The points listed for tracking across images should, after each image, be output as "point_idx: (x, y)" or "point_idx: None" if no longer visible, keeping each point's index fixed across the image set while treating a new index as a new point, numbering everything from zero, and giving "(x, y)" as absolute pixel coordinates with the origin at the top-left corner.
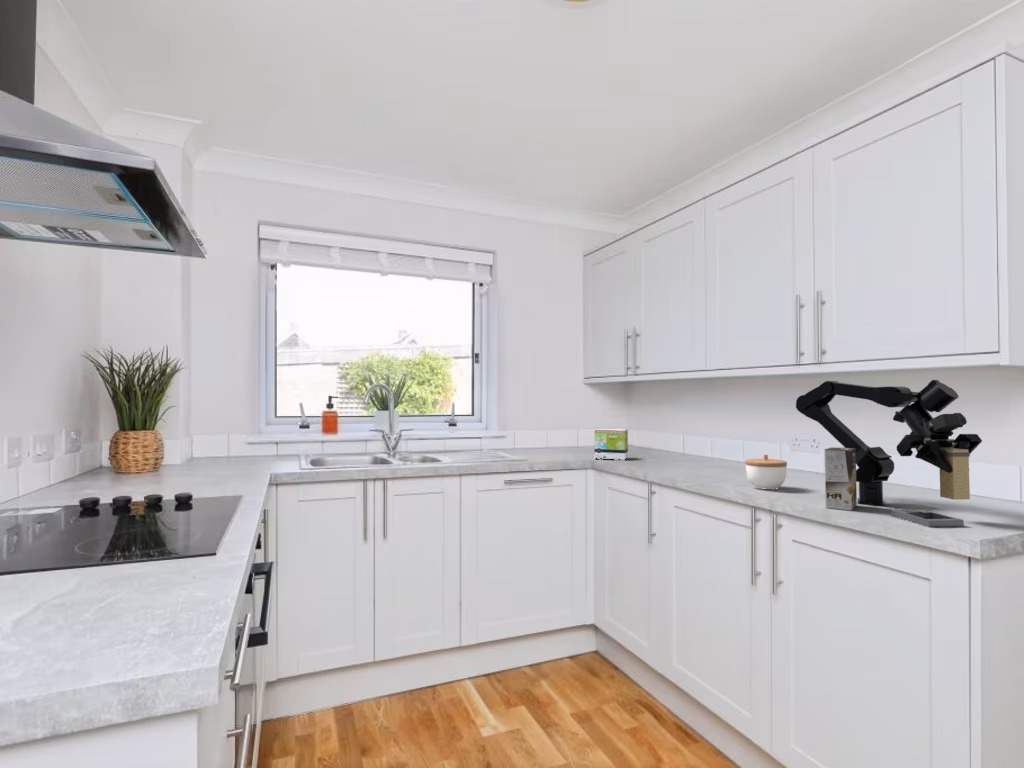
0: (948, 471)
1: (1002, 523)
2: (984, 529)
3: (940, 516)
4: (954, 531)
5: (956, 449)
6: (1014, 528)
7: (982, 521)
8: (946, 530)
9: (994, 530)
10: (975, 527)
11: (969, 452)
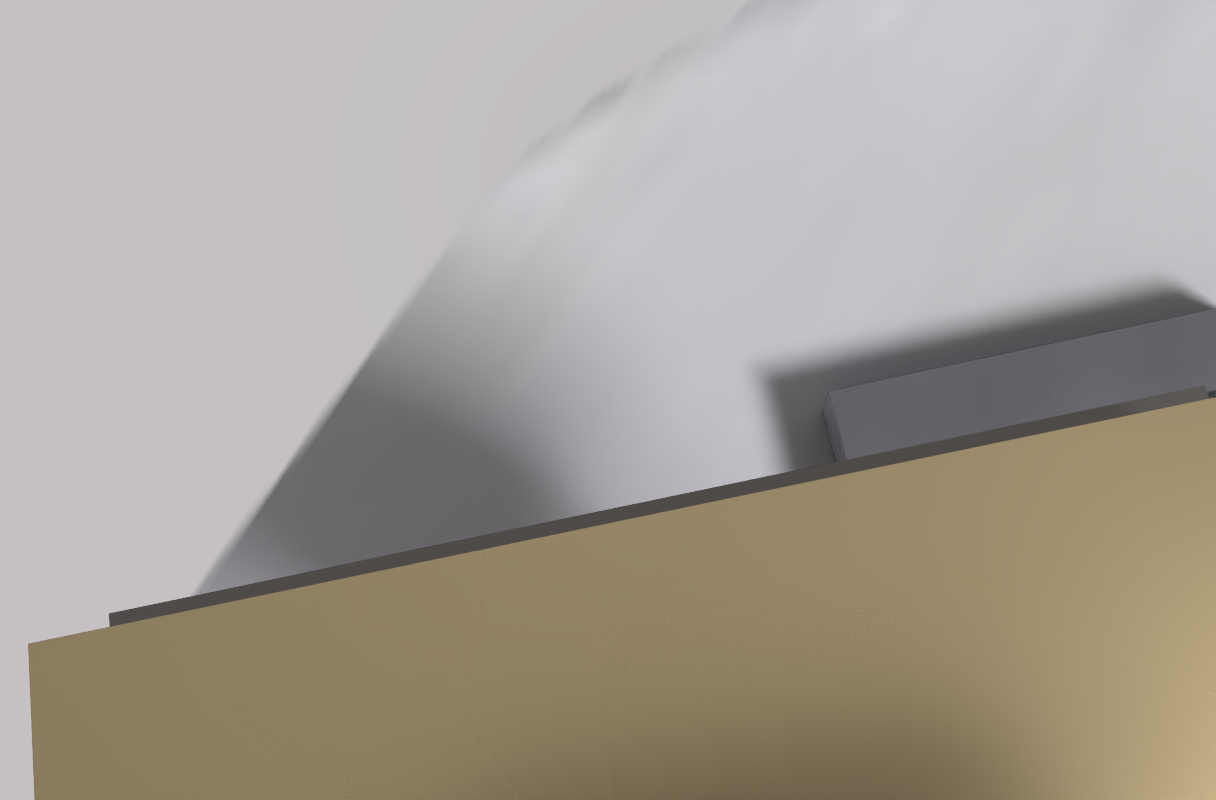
0: None
1: None
2: (683, 304)
3: None
4: (1050, 168)
5: (895, 565)
6: (349, 393)
7: None
8: (1113, 200)
9: (611, 273)
10: (718, 386)
11: (122, 614)
